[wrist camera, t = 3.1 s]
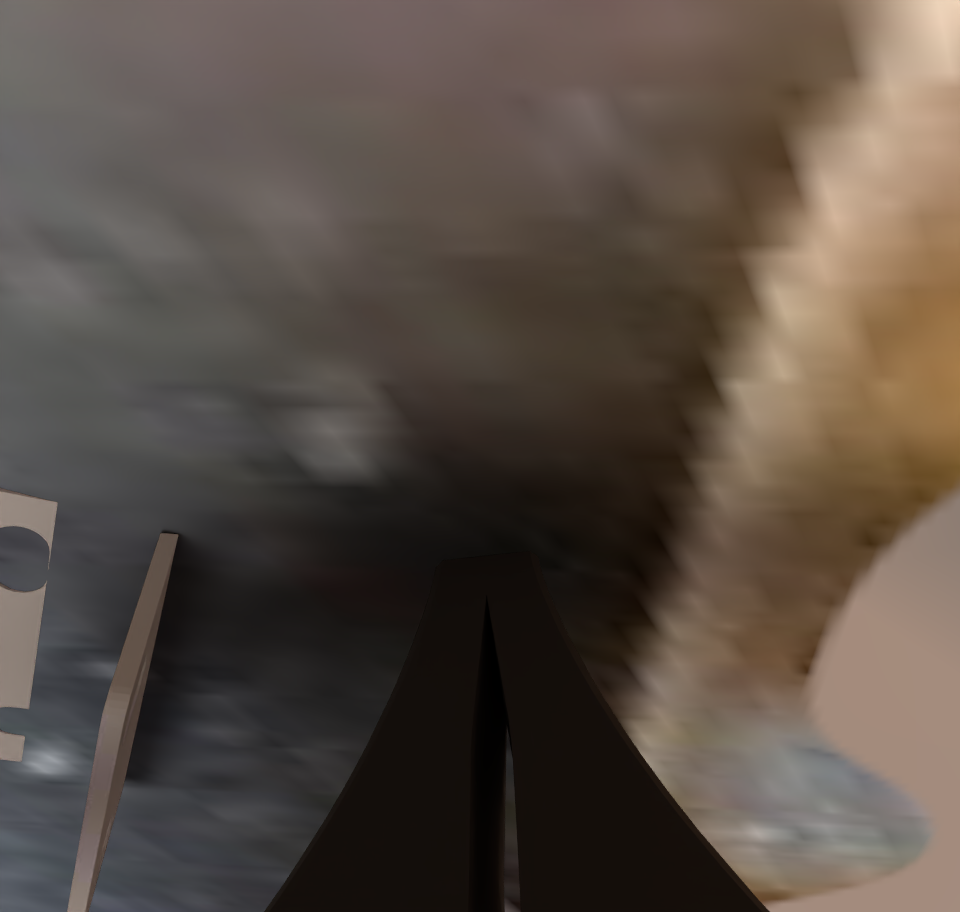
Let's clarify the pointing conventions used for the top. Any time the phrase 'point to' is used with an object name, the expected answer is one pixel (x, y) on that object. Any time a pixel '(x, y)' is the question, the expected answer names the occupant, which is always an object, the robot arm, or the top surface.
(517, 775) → the robot arm
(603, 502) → the top surface
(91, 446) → the top surface
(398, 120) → the top surface
